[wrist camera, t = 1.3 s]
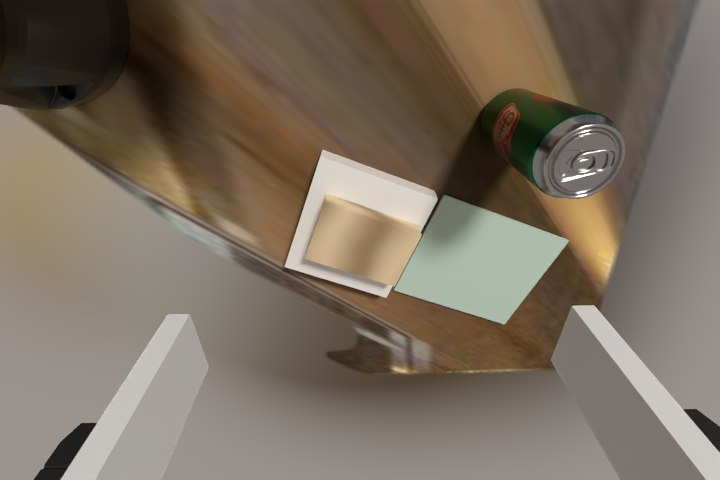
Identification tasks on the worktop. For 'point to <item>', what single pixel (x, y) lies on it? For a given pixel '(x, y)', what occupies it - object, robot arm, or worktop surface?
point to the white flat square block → (364, 190)
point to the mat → (477, 260)
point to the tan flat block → (362, 240)
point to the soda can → (554, 143)
